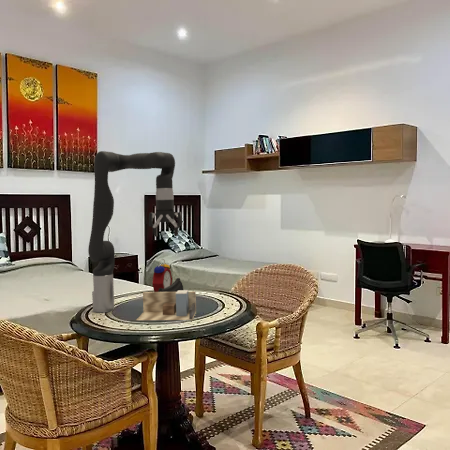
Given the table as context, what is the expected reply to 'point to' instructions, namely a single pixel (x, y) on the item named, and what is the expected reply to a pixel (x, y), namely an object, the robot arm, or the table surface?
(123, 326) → the table surface
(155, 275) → the alarm clock
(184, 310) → the blue grey block
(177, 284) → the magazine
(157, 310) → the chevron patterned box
